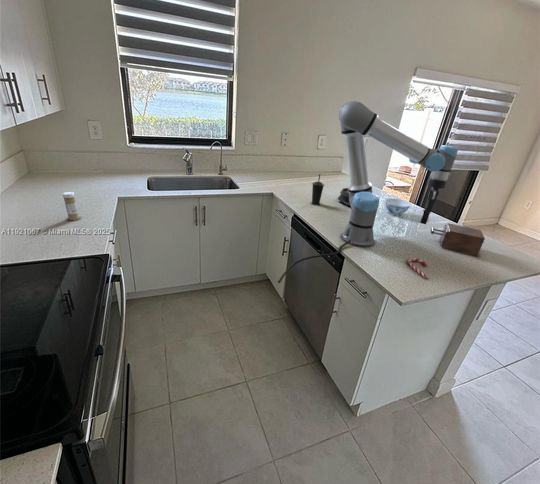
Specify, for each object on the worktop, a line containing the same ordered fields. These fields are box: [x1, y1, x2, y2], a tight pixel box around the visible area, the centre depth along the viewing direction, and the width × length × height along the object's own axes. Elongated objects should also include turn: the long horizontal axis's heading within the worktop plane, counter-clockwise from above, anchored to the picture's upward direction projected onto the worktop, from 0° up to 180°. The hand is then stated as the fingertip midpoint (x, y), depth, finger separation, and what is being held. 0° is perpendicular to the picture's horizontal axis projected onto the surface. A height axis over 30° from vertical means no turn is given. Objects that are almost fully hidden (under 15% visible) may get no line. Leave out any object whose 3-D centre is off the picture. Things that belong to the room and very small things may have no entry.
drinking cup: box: [311, 173, 325, 206], centre depth 188 cm, size 8×8×20 cm
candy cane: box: [407, 257, 428, 279], centre depth 123 cm, size 8×1×15 cm
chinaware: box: [384, 198, 411, 217], centre depth 184 cm, size 15×15×8 cm
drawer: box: [430, 224, 449, 247], centre depth 146 cm, size 19×10×8 cm, turn 64°
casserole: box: [337, 187, 351, 207], centre depth 198 cm, size 25×19×8 cm
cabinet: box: [442, 222, 486, 257], centre depth 144 cm, size 15×12×10 cm
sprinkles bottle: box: [62, 191, 80, 221], centre depth 141 cm, size 5×5×13 cm
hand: (423, 223), depth 150 cm, fingers closed
